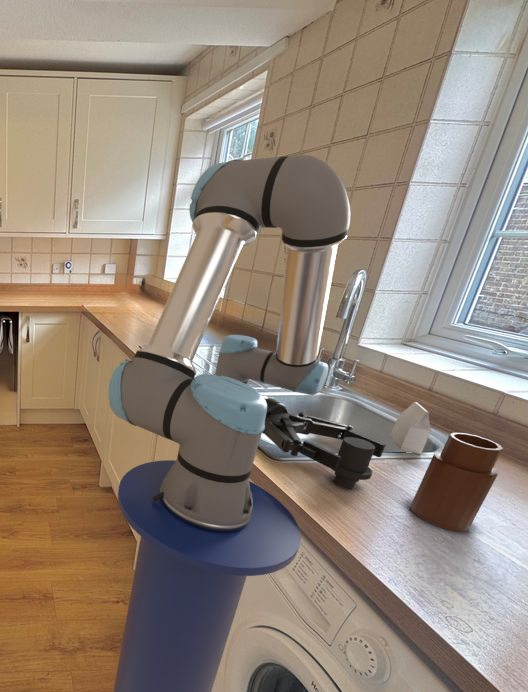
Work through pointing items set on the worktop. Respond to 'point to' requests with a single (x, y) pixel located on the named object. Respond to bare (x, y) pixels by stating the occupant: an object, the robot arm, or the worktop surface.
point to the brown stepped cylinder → (457, 481)
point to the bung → (354, 462)
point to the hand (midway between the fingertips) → (361, 457)
